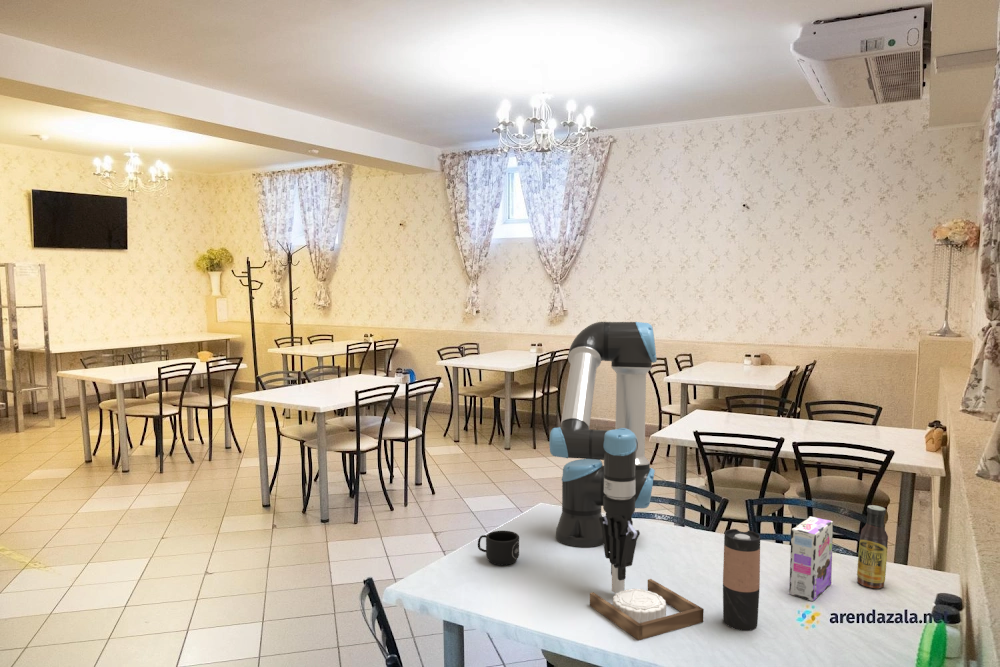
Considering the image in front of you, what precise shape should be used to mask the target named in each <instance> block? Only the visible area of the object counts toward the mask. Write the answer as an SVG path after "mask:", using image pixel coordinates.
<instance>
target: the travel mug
mask: <svg viewBox="0 0 1000 667" xmlns="http://www.w3.org/2000/svg"><path fill="white" fill-rule="evenodd" d="M723 536H724V540H723V542H724V543H723V544H724V545H723V568H722V570H723V572H722V611H723V612H722V617H723V619H722V621H723V622H724V624H725V625H726V626H727V627H729V628H731V629H734V630H737V631H747V632H748V631H753V630H755V629H757V627H758V621H759V603H760V602H759V601H760V588H761V587H760V585H761V583H760V581H761V579H760V578H761V577H760V576H761V575H760V574H761V573H760V572H761V536H760V534H758V533H757V532H755V531H752V530H747V531H740V530H739V529H737V528H730V529H727V530H726V531H724V535H723Z"/></svg>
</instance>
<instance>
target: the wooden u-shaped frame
mask: <svg viewBox="0 0 1000 667" xmlns="http://www.w3.org/2000/svg"><path fill="white" fill-rule="evenodd" d="M647 591H651V592H653V593H656V594H658V595H659V596H661V597H662V598H663V599H664V600H665V601H666V605H669V606H671V607H673V608H674V609H676V610H678V611H679V612H677V613H673V614H669V615H666V616H665V617H661V618H658V619H654V620H650V621H647V622H643V623H638V622H637V621H635V620H634V619H632V618H631V617H629V616H628V615H626V614H625V613H623V612H622V611H620V610H619V609H617V608H616V607H614V606H613V603H612V604H611V603H610V602H609V601H607V600H606V599H604V598H603V597H601V596H600V595H599V594H597V593H595V592H589V606H590V607H591V608H593V609H594V610H595V611H597V612H598V613H599V614H601V615H602V616H604V617H605V618H606V619H608V620H609V621H610V622H612V623H614V624H615V625H616V626H618V627H619V629H620V628H621V629H622V630H623V631H625V632H626V633H627V634H629V635H630V636H631V637H633V638H634V639H635V640H637V641H641V640H645V639H648V638H653V637H655V636H659V635H663V634H665V633H670V632H673V631H677V630H679V629H684V628H687V627H690V626H694V625H698V624H701V623H703V622H704V614H705V613H704V610H705V609H704V608H703V607H701V606H699V605H697V604H695V603H694V602H692V601H691V600H688V599H687V598H686V597H684V596H683V595H680V594H678V593H676V592H675V591H673V590H671V589H669V588H668V587H666V586H664V585H662V584H660V583H659V582H657V581H655V580H653V579H652V578H649V579H647Z"/></svg>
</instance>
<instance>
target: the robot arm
mask: <svg viewBox="0 0 1000 667" xmlns="http://www.w3.org/2000/svg"><path fill="white" fill-rule="evenodd" d="M570 344H571V345H570V346H569V350H568V355H567V356H568V358H567V359H568V363H569V364H570V366H569V372H568V377H567V383H566V390H565V395H564V396H565V397H564V403H563V408H562V409H563V410H562V414H561V422H560V426H558V427H553V428H552V429H551V430H550V432H549V433H550V434H549V452H550V454H551V456H553V457H557V458H563V459H575V460H572V461H569V462H567V463H565V465H564V466H563V468H562V474H561V476H562V477H561V484H562V486H561V492H562V493H561V494H562V495H561V496H562V497H561V499H562V500H561V515H560V518H559V520H558V523H557V527H556V530H555V538H556V540H557V541H558V542H559V543H561V544H563V545H566V546H570V547H577V548H591V547H592V548H595V547H597V546H601V545H603V549H604V550H603V551H604V555H605V556H604V557H605V558H606V559H608V560H609V563H610V575H611V592H613V593H614V594H616V593H619V592H620V591H625V580H626V573H627V571H626V569H627V568H628V567H631V566H632V565H633V562H634V557H635V550H636V547H637V541H638V538H639V537H640V534H641V533H640V530H639V529H638V530H637V529H635V527H634V526H633V525H634V524H633V523H634V522H633V519H632V517H633V514H634V513H635V512H636V509H647V508H648V507H649V506H650V504H651V497H652V492H653V491H652V490H653V486H654V477H655V472H656V471H655V469H654V468H653V467H651V464H650V463H651V462H650V460H648V458H647V457H646V454H645V453H646V452H645V451H646V404H647V403H646V399H647V398H646V397H647V374H648V373H649V371H650V370H652V363H653V364H654V363H657V362H658V361H657V352H656V342H655V333H654V327H653V325H652V324H650V323H649V322H640V321H597V322H594V323H591V324H589V325H588V326H586V327H585V328H584V329H582V330H581V331H580V332H579V333H578V334H577V335H576V336H575V338H574V339H573V341H572V343H570ZM603 361H604V362H611V365H610V366H611V369H612V370H613V371H614V372H615V374H616V375H615V376H616V379H615V380H616V381H615V382H616V384H615V428H614V429H610V430H607V429H590V424H591V418H592V416H591V415H592V409H593V402H594V391H595V384H596V376H597V369H598V368H599V367H600V366H601V363H602V362H603ZM602 461H603V462H602ZM602 507H603V511H604V512H605V515H604V516H603V514H602Z"/></svg>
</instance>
